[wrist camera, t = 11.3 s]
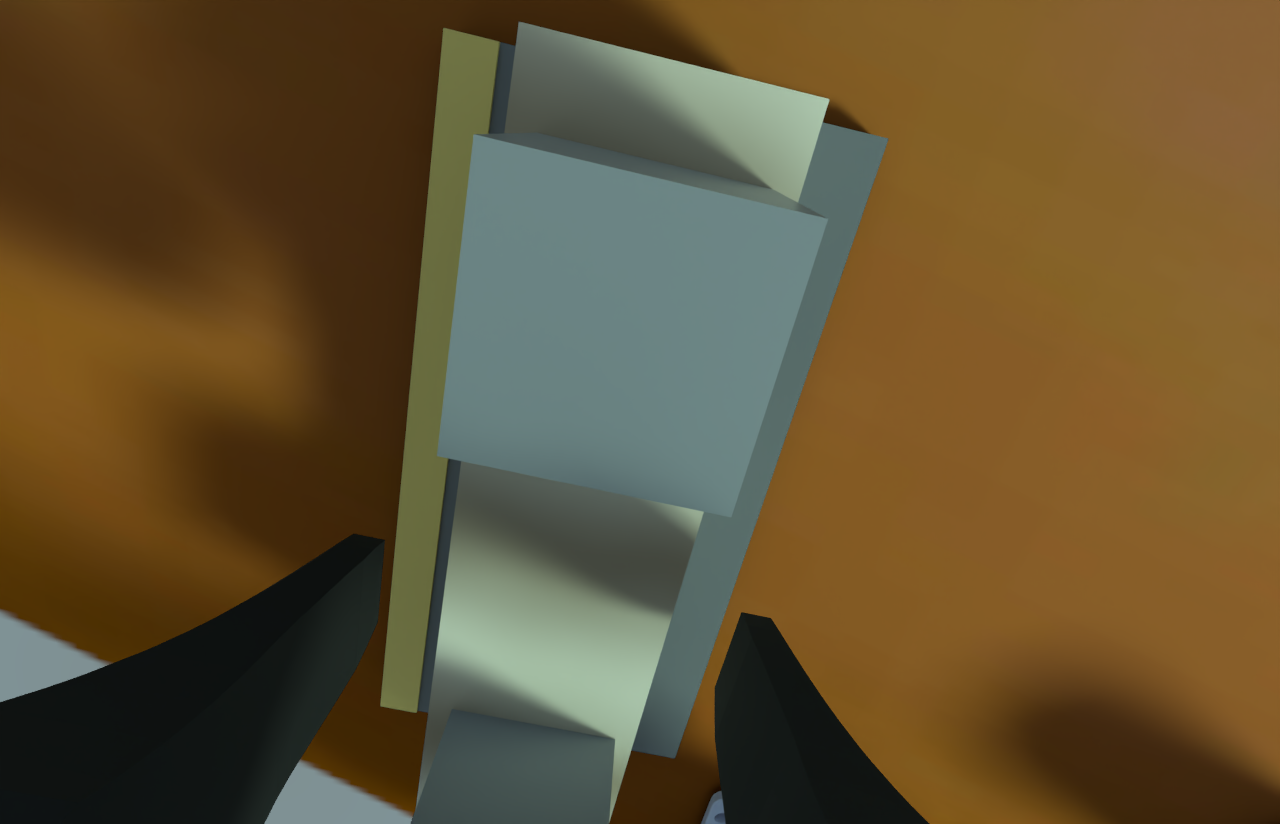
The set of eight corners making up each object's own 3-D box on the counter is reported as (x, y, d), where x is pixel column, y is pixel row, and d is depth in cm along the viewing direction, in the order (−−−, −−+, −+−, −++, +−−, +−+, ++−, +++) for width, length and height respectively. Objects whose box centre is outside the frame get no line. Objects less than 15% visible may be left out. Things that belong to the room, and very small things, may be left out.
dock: (674, 733, 24) (674, 760, 23) (392, 680, 23) (380, 706, 22) (875, 138, 16) (889, 138, 15) (458, 34, 15) (443, 27, 14)
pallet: (603, 743, 22) (591, 882, 18) (456, 715, 22) (409, 851, 18) (782, 107, 15) (829, 99, 11) (559, 52, 14) (519, 21, 10)
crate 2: (710, 404, 13) (731, 517, 9) (503, 359, 12) (436, 456, 9) (772, 188, 11) (827, 218, 7) (536, 132, 11) (473, 134, 7)
